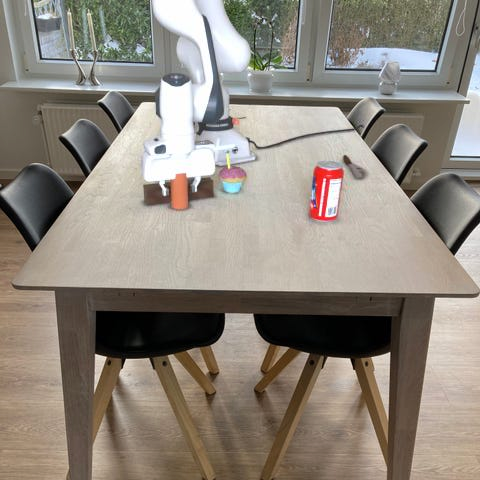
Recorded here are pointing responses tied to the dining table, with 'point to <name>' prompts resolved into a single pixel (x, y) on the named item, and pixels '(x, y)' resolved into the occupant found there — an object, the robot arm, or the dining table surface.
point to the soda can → (326, 191)
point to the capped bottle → (179, 191)
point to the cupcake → (232, 177)
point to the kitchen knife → (354, 168)
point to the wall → (155, 191)
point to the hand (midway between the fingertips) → (179, 193)
